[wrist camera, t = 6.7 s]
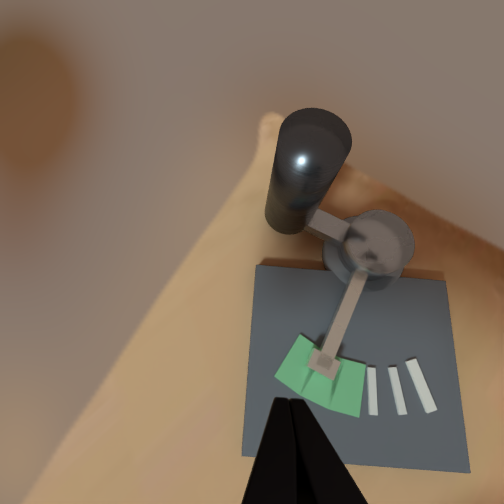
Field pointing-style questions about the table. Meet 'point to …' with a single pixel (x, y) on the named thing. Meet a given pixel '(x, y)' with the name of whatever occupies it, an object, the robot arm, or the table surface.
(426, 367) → the gauge board
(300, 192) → the dial
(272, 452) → the robot arm
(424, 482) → the table surface
